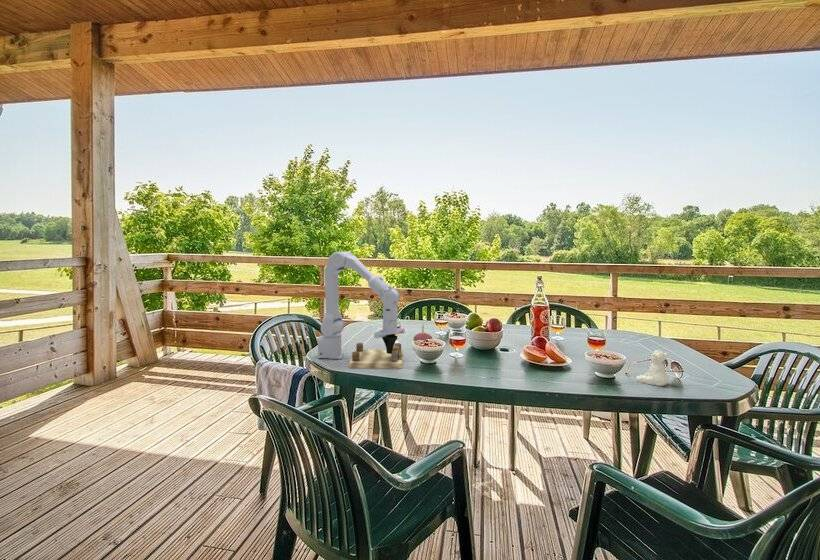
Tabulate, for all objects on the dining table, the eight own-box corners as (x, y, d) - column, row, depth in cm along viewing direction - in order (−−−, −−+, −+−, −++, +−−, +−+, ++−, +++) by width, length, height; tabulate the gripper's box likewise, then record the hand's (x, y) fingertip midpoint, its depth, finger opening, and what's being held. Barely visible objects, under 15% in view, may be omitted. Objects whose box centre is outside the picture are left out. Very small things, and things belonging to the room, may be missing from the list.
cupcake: (432, 351, 189) (432, 324, 188) (413, 351, 189) (413, 324, 188) (431, 346, 198) (432, 320, 197) (413, 346, 198) (413, 320, 197)
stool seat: (349, 368, 163) (349, 355, 163) (355, 354, 183) (355, 342, 183) (402, 368, 164) (402, 355, 163) (402, 354, 183) (402, 342, 183)
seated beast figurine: (653, 377, 155) (655, 345, 154) (676, 385, 147) (678, 351, 146) (634, 381, 152) (636, 347, 150) (657, 389, 144) (659, 353, 143)
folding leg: (393, 352, 177) (393, 346, 177) (399, 353, 177) (399, 346, 176) (391, 360, 165) (391, 353, 165) (397, 361, 165) (397, 353, 165)
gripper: (383, 323, 162) (382, 358, 163) (410, 319, 172) (409, 352, 174) (370, 320, 167) (370, 354, 168) (398, 316, 177) (397, 348, 178)
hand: (389, 353), depth 171 cm, fingers closed, pressing on folding leg
